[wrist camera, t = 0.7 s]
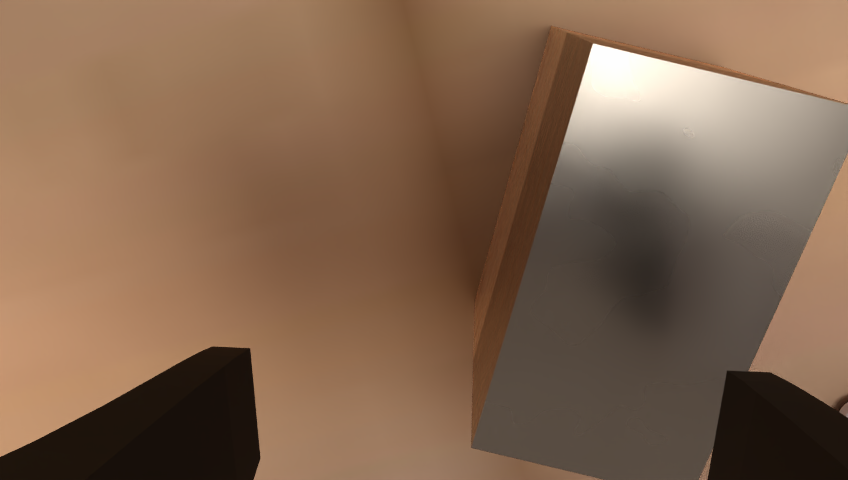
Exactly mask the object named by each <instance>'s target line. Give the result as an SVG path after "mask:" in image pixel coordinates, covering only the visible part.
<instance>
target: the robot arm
mask: <svg viewBox="0 0 848 480" xmlns="http://www.w3.org/2000/svg"><path fill="white" fill-rule="evenodd" d="M259 461H260V450H259V439H258V428H257V417H256V407H255V396H254V385H253V374H252V364H251V353H250V348H231V347H210V348H208V349H206V350H203V351H201V352H199V353H197V354H195V355H193V356H191V357H189V358H187V359H186V360H184V361H182V362H180V363H178V364H176V365H175V366H173V367H171V368H169V369H168V370H166V371H164V372H162V373H161V374H159V375H157V376H155V377H153V378H152V379H150V380H148V381H146V382H145V383H143V384H141V385H139V386H137V387H136V388H134V389H132V390H130V391H129V392H127V393H125V394H123V395H121V396H120V397H118V398H116V399H114V400H113V401H111V402H109V403H107V404H105V405H104V406H102V407H100V408H98V409H96V410H94V411H92V412H90V413H88V414H86V415H84V416H82V417H80V418H79V419H77V420H75V421H73V422H71V423H69V424H67V425H65V426H63V427H61V428H59V429H57V430H55V431H53V432H51V433H49V434H48V435H46V436H44V437H42V438H40V439H38V440H36V441H34V442H32V443H30V444H27V445H25V446H23V447H21V448H19V449H17V450H15V451H12V452H10V453H8V454H6V455H4V456H1V457H0V480H253V479H254V476H255V473H256V470H257V467H258V464H259ZM708 480H848V402H847V403H846V404H844V406H843V407H842V408H841V409H840V411H839V412H838V411H836V410H835V409H833V408H832V407H830V406H828V405H827V404H825V403H823V402H822V401H820V400H819V399H817V398H815V397H814V396H812V395H810V394H809V393H807V392H805V391H804V390H802V389H800V388H799V387H797V386H795V385H793V384H792V383H790V382H788V381H786V380H784V379H782V378H780V377H778V376H776V375H774V374H772V373H770V372H749V371H727V373H726V379H725V384H724V390H723V396H722V401H721V407H720V413H719V418H718V424H717V430H716V435H715V441H714V447H713V452H712V458H711V464H710V469H709V475H708Z"/></svg>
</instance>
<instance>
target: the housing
mask: <svg viewBox="0 0 848 480" xmlns="http://www.w3.org/2000/svg"><path fill="white" fill-rule="evenodd" d="M847 153H848V104H847V103H844V102H841V101H837V100H834V99H830V98H827V97H823V96H820V95H817V94H813V93H810V92H806V91H803V90H800V89H796V88H793V87H789V86H786V85H782V84H779V83H776V82H772V81H769V80H765V79H762V78H758V77H755V76H752V75H748V74H745V73H741V72H738V71H734V70H731V69H728V68H724V67H720V66H716V65H712V64H708V63H704V62H700V61H695V60H691V59H687V58H683V57H679V56H675V55H670V54H666V53H662V52H658V51H654V50H650V49H645V48H641V47H637V46H633V45H629V44H625V43H620V42H616V41H612V40H608V39H604V38H600V37H595V36H591V35H587V34H583V33H579V32H575V31H570V30H566V29H562V28H558V27H554V26H551V28H550V32H549V35H548V39H547V42H546V46H545V50H544V53H543V57H542V60H541V64H540V68H539V71H538V75H537V78H536V82H535V86H534V89H533V93H532V96H531V100H530V104H529V107H528V111H527V114H526V118H525V122H524V125H523V129H522V132H521V136H520V140H519V143H518V147H517V150H516V154H515V158H514V161H513V165H512V168H511V172H510V176H509V179H508V183H507V186H506V190H505V194H504V197H503V201H502V204H501V208H500V212H499V215H498V219H497V222H496V226H495V230H494V233H493V237H492V240H491V244H490V247H489V251H488V255H487V258H486V262H485V265H484V269H483V273H482V276H481V280H480V283H479V287H478V291H477V294H476V298H475V304H474V346H473V388H472V430H471V448H474V449H479V450H483V451H487V452H491V453H495V454H499V455H504V456H508V457H512V458H516V459H520V460H524V461H529V462H533V463H537V464H541V465H545V466H550V467H554V468H558V469H562V470H566V471H570V472H575V473H579V474H583V475H587V476H591V477H596V478H600V479H604V480H699V478H700V475H701V473H702V471H703V469H704V467H705V464H706V462H707V460H708V458H709V456H710V453H711V451H712V449H713V447H714V441H715V435H716V430H717V424H718V418H719V413H720V407H721V401H722V396H723V390H724V384H725V379H726V373H727V371H748V370H749V368H750V366H751V364H752V361H753V359H754V357H755V355H756V353H757V351H758V348H759V346H760V344H761V342H762V340H763V337H764V335H765V333H766V331H767V329H768V326H769V324H770V322H771V320H772V318H773V315H774V313H775V311H776V309H777V307H778V305H779V302H780V300H781V298H782V296H783V294H784V291H785V289H786V287H787V285H788V283H789V280H790V278H791V276H792V274H793V272H794V270H795V267H796V265H797V263H798V261H799V259H800V256H801V254H802V252H803V250H804V248H805V245H806V243H807V241H808V239H809V237H810V234H811V232H812V230H813V228H814V226H815V224H816V221H817V219H818V217H819V215H820V213H821V210H822V208H823V206H824V204H825V202H826V199H827V197H828V195H829V193H830V191H831V188H832V186H833V184H834V182H835V180H836V178H837V175H838V173H839V171H840V169H841V167H842V164H843V162H844V160H845V158H846V156H847Z"/></svg>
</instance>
